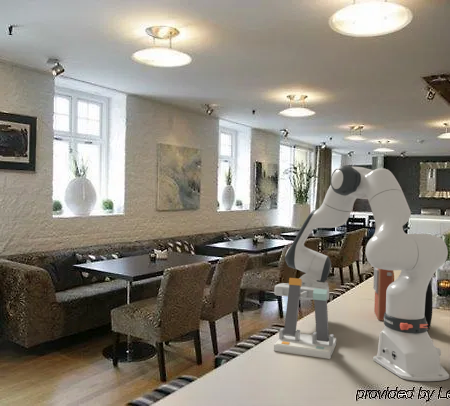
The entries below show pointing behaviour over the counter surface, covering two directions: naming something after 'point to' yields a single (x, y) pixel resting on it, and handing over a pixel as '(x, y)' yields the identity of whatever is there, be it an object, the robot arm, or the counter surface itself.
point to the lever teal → (321, 314)
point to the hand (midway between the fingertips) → (297, 295)
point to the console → (305, 344)
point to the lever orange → (292, 306)
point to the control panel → (381, 290)
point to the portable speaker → (428, 305)
